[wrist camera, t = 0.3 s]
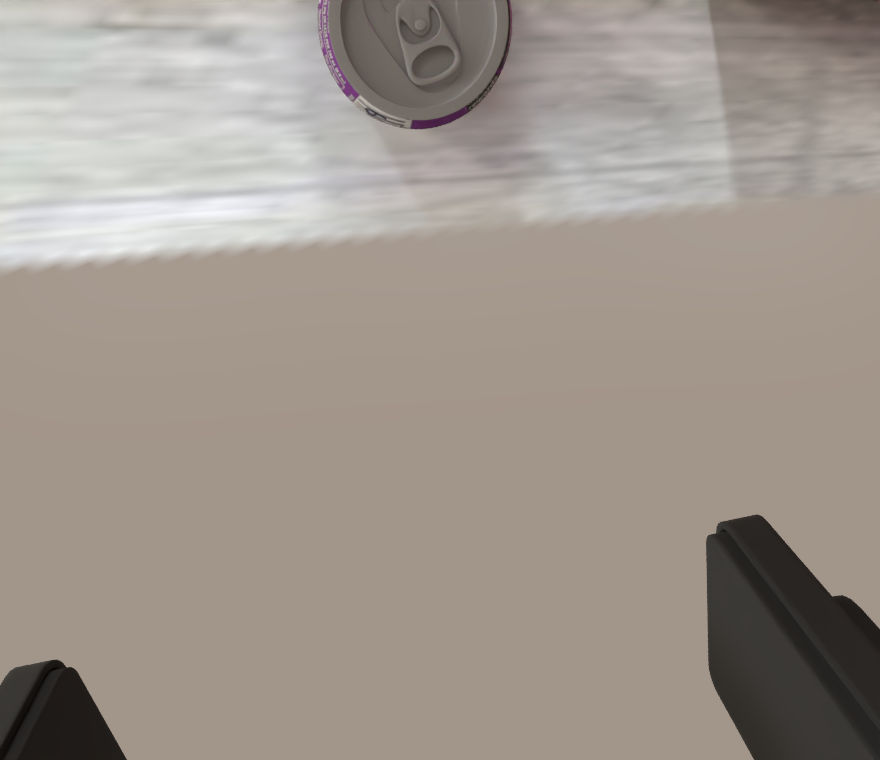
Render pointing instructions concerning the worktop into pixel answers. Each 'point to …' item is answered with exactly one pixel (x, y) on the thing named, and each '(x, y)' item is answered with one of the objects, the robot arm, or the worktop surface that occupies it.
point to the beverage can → (415, 55)
